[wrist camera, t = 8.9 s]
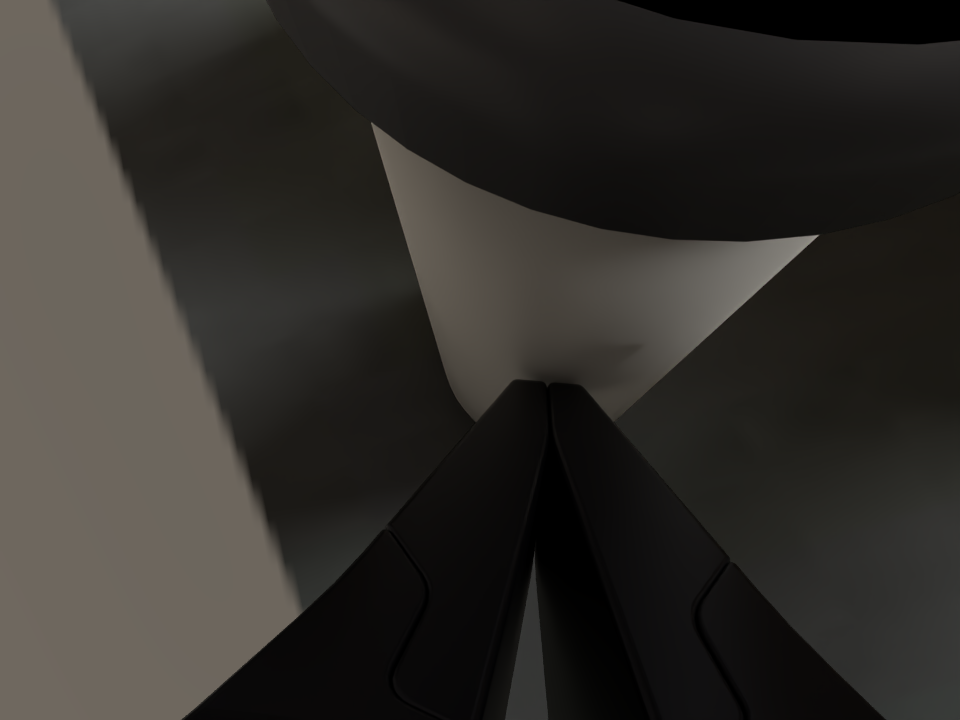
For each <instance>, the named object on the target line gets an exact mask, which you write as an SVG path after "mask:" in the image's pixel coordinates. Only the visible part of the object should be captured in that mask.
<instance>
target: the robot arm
mask: <svg viewBox="0 0 960 720" xmlns="http://www.w3.org/2000/svg"><path fill="white" fill-rule="evenodd" d="M534 551H535V570H536V584H537V596H538V607H539V618H540V630H541V641H542V652H543V664H544V675H545V686H546V698H547V709H548V720H886V719H885V718H884V717H883V716H882V715H881V714H879V713H878V712H877V711H876V710H875V709H874V708H873V707H872V706H871V705H870V704H869V703H868V702H867V701H866V700H865V699H864V698H863V697H862V696H861V695H860V694H859V693H858V692H857V691H856V690H855V689H854V688H852V687H851V686H850V685H849V684H848V683H847V682H846V681H845V680H844V679H843V678H842V677H841V676H840V675H839V674H838V673H837V672H836V671H835V670H834V669H833V668H832V667H831V666H830V665H829V664H828V663H827V662H826V661H825V660H824V659H823V658H822V657H821V656H820V655H819V654H818V653H817V652H816V651H815V650H814V649H813V648H812V647H811V646H810V645H809V644H808V643H807V642H806V641H805V640H804V639H803V638H802V637H801V636H800V635H799V634H798V633H797V632H796V631H795V630H794V629H793V628H792V627H791V626H790V625H789V624H788V623H787V621H786V620H785V619H784V618H783V617H782V616H781V615H780V614H779V613H778V611H777V610H776V609H775V608H774V607H773V606H772V605H771V604H770V603H769V602H768V600H767V599H766V598H765V597H764V596H763V595H762V594H761V593H760V592H759V590H758V589H757V588H756V587H755V586H754V585H753V584H752V582H751V581H750V580H749V579H748V578H747V577H746V575H745V574H744V573H743V572H742V571H741V570H740V568H739V567H738V566H737V565H736V564H735V563H733V562H731V563H730V557H729V556H728V555H727V554H726V553H725V551H724V550H723V549H722V548H721V547H720V546H719V544H718V543H717V542H716V541H715V540H714V539H713V537H712V536H711V535H710V534H709V533H708V532H707V530H706V529H705V528H704V527H703V526H702V525H701V523H700V522H699V521H698V520H697V519H696V518H695V516H694V515H693V514H692V513H691V512H690V511H689V509H688V508H687V507H686V506H685V505H684V504H683V502H682V501H681V500H680V499H679V498H678V497H677V495H676V494H675V493H674V492H673V491H672V490H671V488H670V487H669V486H668V485H667V484H666V483H665V481H664V480H663V479H662V478H661V477H660V476H659V474H658V473H657V472H656V471H655V470H654V469H653V467H652V466H651V465H650V464H649V463H648V462H647V460H646V459H645V458H644V457H643V456H642V455H641V453H640V452H639V451H638V450H637V449H636V448H635V446H634V445H633V444H632V443H631V442H630V441H629V439H628V438H627V437H626V436H625V435H624V434H623V432H622V431H621V430H620V429H619V428H618V427H617V425H616V424H615V423H614V422H613V421H612V419H611V418H610V417H609V416H608V415H607V414H606V412H605V411H604V410H603V409H602V408H601V407H600V405H599V404H598V403H597V402H596V401H595V400H594V398H593V397H592V396H591V395H590V394H589V393H588V391H587V390H586V389H585V388H584V387H583V386H581V385H579V384H569V383H557V382H553V383H550V384H549V385H548V387H547V385H546V384H545V383H544V382H542V381H534V380H523V379H515V380H512V381H511V382H510V383H509V385H508V386H507V387H506V388H505V389H504V390H503V392H502V393H501V394H500V395H499V396H498V397H497V398H496V400H495V401H494V402H493V403H492V404H491V405H490V407H489V408H488V409H487V410H486V411H485V412H484V413H483V415H482V416H481V417H480V418H479V419H478V420H477V422H476V423H475V424H474V425H473V426H472V427H471V428H470V430H469V431H468V432H467V433H466V434H465V435H464V437H463V438H462V439H461V440H460V441H459V442H458V443H457V445H456V446H455V447H454V448H453V449H452V450H451V452H450V453H449V454H448V455H447V456H446V457H445V458H444V460H443V461H442V462H441V463H440V464H439V465H438V467H437V468H436V469H435V470H434V471H433V472H432V473H431V475H430V476H429V477H428V478H427V479H426V480H425V482H424V483H423V484H422V485H421V486H420V487H419V488H418V490H417V491H416V492H415V493H414V494H413V495H412V497H411V498H410V499H409V500H408V501H407V502H406V503H405V505H404V506H403V507H402V508H401V509H400V510H399V512H398V513H397V514H396V515H395V516H394V517H393V518H392V520H391V521H390V522H389V523H388V524H387V525H386V529H384V530H382V531H381V532H380V533H379V534H378V535H377V536H376V538H375V539H374V540H373V541H372V542H371V543H370V545H369V546H368V547H367V548H366V549H365V550H364V552H363V553H362V554H361V555H360V556H359V557H358V558H357V559H356V560H355V561H354V562H353V563H352V564H351V566H350V567H349V568H348V569H347V570H346V571H345V572H344V573H343V574H342V575H341V576H340V577H339V578H338V579H337V580H336V582H335V583H334V584H333V585H332V586H330V587H329V588H328V589H327V590H326V591H325V592H324V593H323V594H322V595H321V596H320V597H319V598H318V599H317V600H315V601H314V602H313V603H312V604H311V605H310V606H309V607H308V608H307V609H306V610H305V611H304V612H303V613H302V614H301V615H299V616H298V617H297V618H296V619H295V620H294V621H293V622H292V623H291V624H289V625H288V626H287V627H286V628H285V629H284V630H283V631H282V632H280V633H279V634H278V635H277V636H276V637H275V638H274V639H273V640H271V641H270V642H269V643H268V644H267V645H266V646H265V647H264V648H262V649H261V650H260V651H259V652H258V653H257V654H256V655H255V656H254V657H252V658H251V659H250V660H249V661H248V662H247V663H246V664H244V665H243V666H242V667H241V668H240V669H239V670H238V671H237V672H235V673H234V674H233V675H232V676H231V677H230V678H229V679H228V680H227V681H225V682H224V683H223V684H222V685H221V686H220V687H219V688H217V690H215V691H214V692H213V693H212V694H211V695H210V696H208V697H207V698H206V699H205V700H204V701H203V702H202V703H201V704H199V705H198V706H197V707H196V708H195V709H194V710H193V711H191V712H190V713H189V714H188V715H186V716H185V717H184V718H183V719H182V720H505V715H506V710H507V704H508V699H509V693H510V688H511V682H512V677H513V671H514V666H515V661H516V655H517V650H518V644H519V639H520V633H521V628H522V622H523V617H524V611H525V606H526V600H527V595H528V589H529V584H530V579H531V572H532V565H533V558H534Z"/></svg>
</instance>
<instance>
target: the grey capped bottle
mask: <svg viewBox="0 0 960 720" xmlns="http://www.w3.org/2000/svg"><path fill="white" fill-rule="evenodd" d="M266 1H267V3H268V5H269V7H270V9H271V10H272V12H273V14H274V16H275V18H276V20H277V21H278V22H279V24H280V25H281V26H282V28H283V29H284V30H285V32H286V33H287V34H288V36H289V37H290V38H291V40H292V41H293V42H294V44H295V45H296V46H297V48H298V49H299V50H300V52H301V53H302V54H303V56H304V57H305V58H306V60H307V61H308V62H309V64H310V65H311V66H312V67H313V68H314V69H315V70H316V71H317V72H318V73H319V74H320V75H321V76H322V77H323V78H324V79H325V80H326V81H327V82H328V83H329V84H330V85H331V86H332V87H333V88H334V89H335V90H336V91H337V92H338V93H339V94H340V95H341V96H342V97H343V98H344V99H345V100H346V101H347V102H348V103H349V104H350V105H351V106H352V107H353V108H354V109H355V110H356V111H357V112H359V113H360V114H361V115H363V116H364V117H365V118H367V119H368V120H369V121H371V124H372V128H373V131H374V135H375V138H376V141H377V145H378V148H379V151H380V155H381V158H382V161H383V165H384V168H385V172H386V175H387V178H388V182H389V185H390V188H391V192H392V195H393V198H394V202H395V205H396V209H397V212H398V215H399V219H400V222H401V225H402V229H403V232H404V235H405V239H406V242H407V245H408V249H409V252H410V256H411V259H412V262H413V266H414V269H415V272H416V276H417V279H418V282H419V286H420V289H421V293H422V296H423V299H424V303H425V306H426V309H427V313H428V316H429V319H430V323H431V326H432V330H433V333H434V336H435V340H436V343H437V346H438V350H439V353H440V356H441V360H442V363H443V367H444V370H445V373H446V376H447V379H448V382H449V385H450V387H451V389H452V391H453V393H454V395H455V397H456V399H457V400H458V402H459V403H460V404H461V406H462V407H463V409H464V410H465V411H466V412H467V413H468V414H469V415H470V417H471V418H472V419H473V420H474V421H476V422H477V420H478V419H479V418H480V417H481V416H482V415H483V413H484V412H485V411H486V410H487V409H488V408H489V407H490V405H491V404H492V403H493V402H494V401H495V400H496V398H497V397H498V396H499V395H500V394H501V393H502V392H503V390H504V389H505V388H506V387H507V386H508V385H509V383H510V382H511V381H512V380H515V379H523V380H534V381H542V382H544V383H545V384H546V385H547V387H548V385H549V384H550V383H553V382H557V383H569V384H579V385H581V386H583V387H584V388H585V389H586V390H587V391H588V393H589V394H590V395H591V396H592V397H593V398H594V400H595V401H596V402H597V403H598V404H599V405H600V407H601V408H602V409H603V410H604V411H605V412H606V414H607V415H608V416H609V417H610V418H611V419H612V421H613V422H614V421H616V420H617V419H618V418H619V417H620V416H621V415H622V414H623V413H624V412H625V411H627V410H628V409H629V408H630V407H631V406H632V405H633V404H634V403H635V402H636V401H638V400H639V399H640V398H641V397H642V396H643V395H644V394H645V393H646V392H647V391H648V390H650V389H651V388H652V387H653V386H654V385H655V384H656V383H657V382H658V381H659V380H661V379H662V378H663V377H664V376H665V375H666V374H667V373H668V372H669V371H670V370H672V369H673V368H674V367H675V366H676V365H677V364H678V363H679V362H680V361H681V360H683V359H684V358H685V357H686V356H687V355H688V354H689V353H690V352H691V351H692V350H694V349H695V348H696V347H697V346H698V345H699V344H700V343H701V342H702V341H703V340H705V339H706V338H707V337H708V336H709V335H710V334H711V333H712V332H713V331H714V330H715V329H717V328H718V327H719V326H720V325H721V324H722V323H723V322H724V321H725V320H726V319H728V318H729V317H730V316H731V315H732V314H733V313H734V312H735V311H736V310H737V309H739V308H740V307H741V306H742V305H743V304H744V303H745V302H746V301H747V300H748V299H750V298H751V297H752V296H753V295H754V294H755V293H756V292H757V291H758V290H759V289H761V288H762V287H763V286H764V285H765V284H766V283H767V282H768V281H769V280H770V279H772V278H773V277H774V276H775V275H776V274H777V273H778V272H779V271H780V270H781V269H782V268H784V267H785V266H786V265H787V264H788V263H789V262H790V261H791V260H792V259H793V258H795V257H796V256H797V255H798V254H799V253H800V252H801V251H802V250H803V249H804V248H806V247H807V246H808V245H809V244H810V243H811V242H812V241H813V240H814V239H815V238H817V237H818V236H819V235H821V234H826V233H830V232H835V231H839V230H844V229H848V228H853V227H857V226H862V225H866V224H870V223H875V222H879V221H884V220H888V219H891V218H894V217H897V216H899V215H902V214H905V213H908V212H910V211H913V210H916V209H919V208H921V207H924V206H927V205H929V204H932V203H935V202H938V201H940V200H943V199H946V198H949V197H951V196H954V195H956V194H958V193H960V0H266Z"/></svg>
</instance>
